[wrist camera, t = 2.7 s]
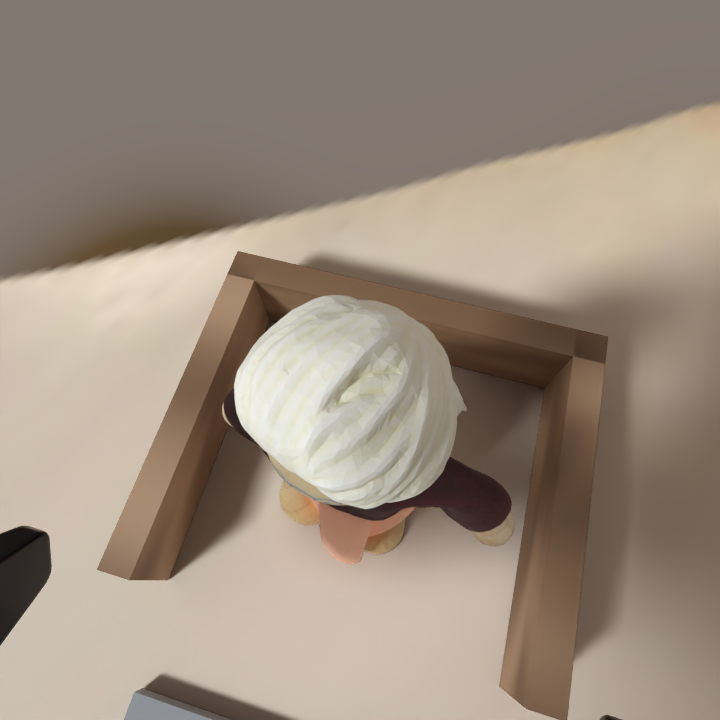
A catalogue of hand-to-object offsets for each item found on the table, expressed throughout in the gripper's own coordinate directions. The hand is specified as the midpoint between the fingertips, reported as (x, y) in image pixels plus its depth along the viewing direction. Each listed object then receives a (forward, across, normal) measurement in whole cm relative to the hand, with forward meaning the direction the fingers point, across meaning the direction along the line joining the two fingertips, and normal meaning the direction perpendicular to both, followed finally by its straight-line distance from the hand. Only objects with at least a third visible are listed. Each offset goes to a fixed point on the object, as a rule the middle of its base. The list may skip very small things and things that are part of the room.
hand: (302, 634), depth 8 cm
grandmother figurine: (+9, 0, +5) cm, 10 cm away
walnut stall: (+10, 0, +3) cm, 11 cm away
